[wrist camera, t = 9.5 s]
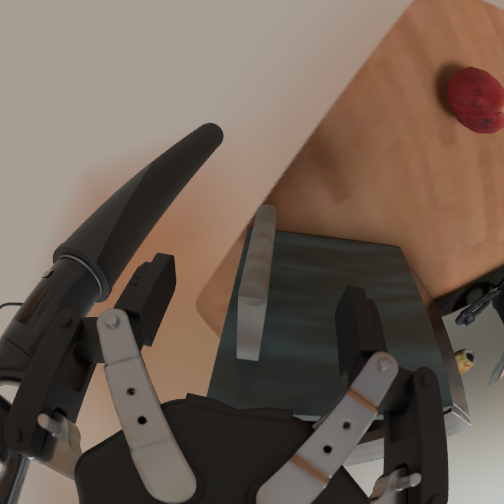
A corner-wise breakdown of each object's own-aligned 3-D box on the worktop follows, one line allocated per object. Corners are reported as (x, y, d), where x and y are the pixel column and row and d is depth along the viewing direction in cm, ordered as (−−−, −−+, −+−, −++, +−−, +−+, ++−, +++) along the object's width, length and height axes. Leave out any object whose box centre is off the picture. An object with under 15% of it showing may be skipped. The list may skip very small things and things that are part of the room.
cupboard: (294, 321, 37) (286, 457, 22) (401, 254, 28) (452, 411, 13) (343, 354, 41) (347, 466, 26) (435, 303, 32) (471, 425, 17)
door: (252, 166, 25) (190, 342, 10) (420, 194, 24) (514, 350, 9) (247, 235, 29) (206, 408, 15) (397, 254, 28) (446, 411, 14)
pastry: (444, 373, 44) (447, 388, 41) (427, 370, 44) (430, 386, 41) (475, 349, 39) (480, 365, 36) (460, 344, 38) (466, 361, 35)
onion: (457, 133, 19) (505, 163, 13) (422, 90, 18) (470, 105, 11) (486, 98, 16) (538, 118, 9) (453, 53, 14) (505, 58, 8)
